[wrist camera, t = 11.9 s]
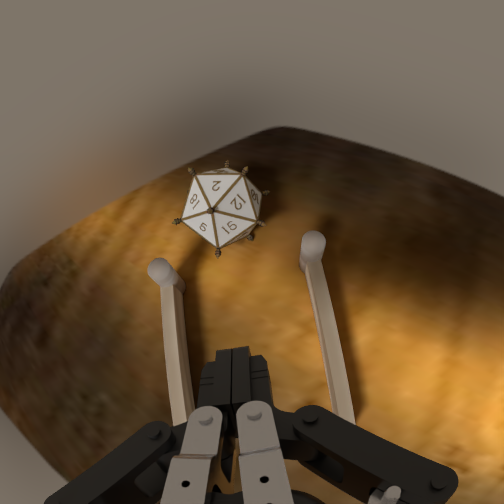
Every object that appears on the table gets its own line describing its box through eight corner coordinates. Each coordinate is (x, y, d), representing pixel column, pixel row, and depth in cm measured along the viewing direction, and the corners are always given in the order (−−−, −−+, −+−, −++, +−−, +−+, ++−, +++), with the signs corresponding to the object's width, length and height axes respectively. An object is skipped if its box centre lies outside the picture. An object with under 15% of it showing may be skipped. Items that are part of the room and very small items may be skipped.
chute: (316, 253, 31) (322, 228, 26) (354, 431, 23) (369, 439, 19) (166, 279, 31) (147, 259, 26) (185, 455, 23) (166, 467, 19)
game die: (217, 240, 36) (158, 178, 31) (278, 198, 34) (223, 127, 29) (223, 291, 29) (145, 219, 24) (300, 241, 27) (231, 151, 22)
